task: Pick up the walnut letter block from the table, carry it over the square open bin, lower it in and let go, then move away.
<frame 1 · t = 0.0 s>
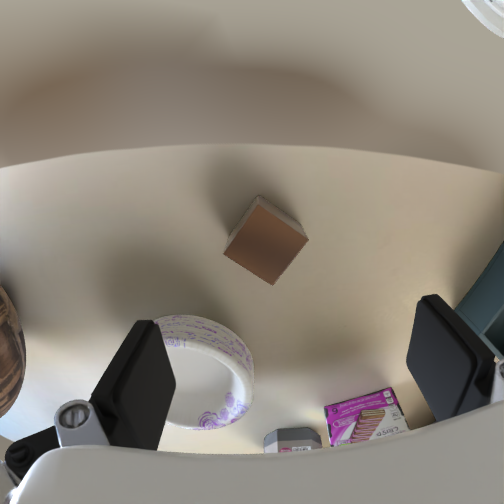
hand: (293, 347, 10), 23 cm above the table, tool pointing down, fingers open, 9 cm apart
sphere: (1, 305, 38), on the table
liquor: (291, 441, 44), on the table
candy bar box: (358, 404, 41), on the table
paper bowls: (196, 349, 38), on the table
walnut block: (264, 230, 32), on the table
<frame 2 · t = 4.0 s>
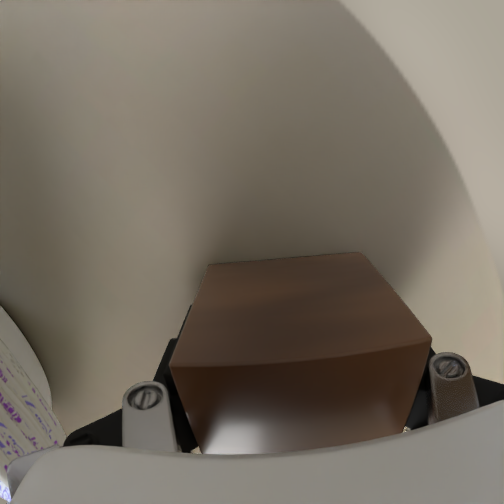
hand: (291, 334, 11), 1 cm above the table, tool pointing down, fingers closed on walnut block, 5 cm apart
walnut block: (289, 324, 12), on the table, touching gripper
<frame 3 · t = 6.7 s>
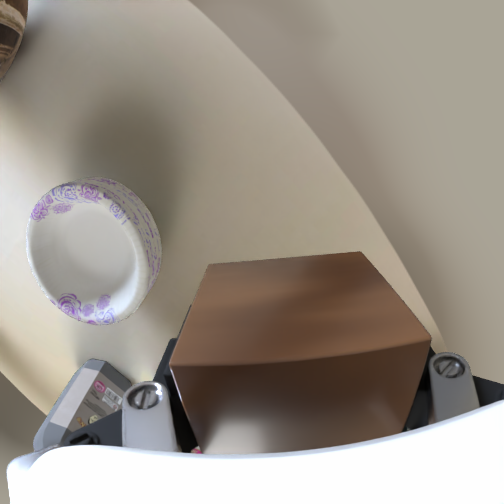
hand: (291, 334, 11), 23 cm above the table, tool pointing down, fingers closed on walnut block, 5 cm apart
sphere: (0, 51, 24), on the table
liquor: (105, 380, 42), on the table
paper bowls: (111, 236, 34), on the table
walnut block: (289, 323, 12), point 22 cm above the table, touching gripper
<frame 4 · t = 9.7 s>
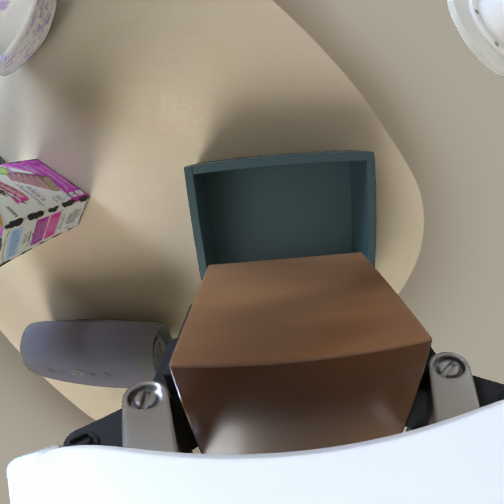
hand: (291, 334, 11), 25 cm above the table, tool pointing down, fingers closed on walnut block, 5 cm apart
candy bar box: (57, 189, 34), on the table
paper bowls: (30, 32, 26), on the table
bluetooth speaker: (106, 332, 41), on the table
walnut block: (289, 324, 12), point 24 cm above the table, touching gripper
square open bin: (283, 230, 35), on the table
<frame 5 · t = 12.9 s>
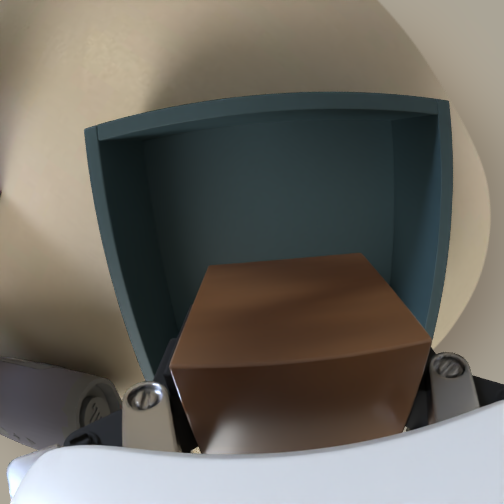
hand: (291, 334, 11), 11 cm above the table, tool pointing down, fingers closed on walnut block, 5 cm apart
bluetooth speaker: (44, 372, 27), on the table
walnut block: (289, 324, 12), point 10 cm above the table, touching gripper
square open bin: (278, 243, 21), on the table
when the fingers open (2 cm above the table, at t = 15.7 s): walnut block stays where it is, resting on square open bin.
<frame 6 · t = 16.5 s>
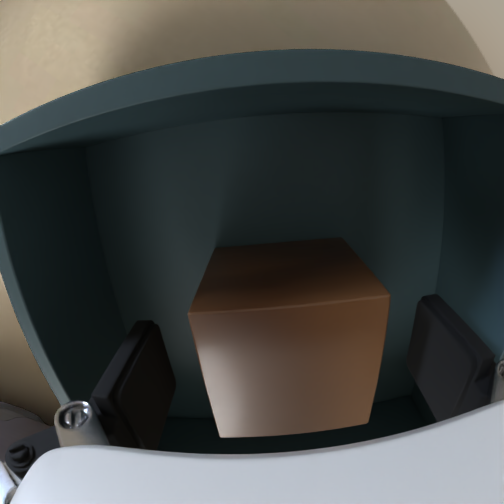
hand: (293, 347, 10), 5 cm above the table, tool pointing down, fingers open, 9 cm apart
bluetooth speaker: (14, 412, 20), on the table
walnut block: (282, 299, 14), point 1 cm above the table, touching square open bin
square open bin: (280, 292, 15), on the table
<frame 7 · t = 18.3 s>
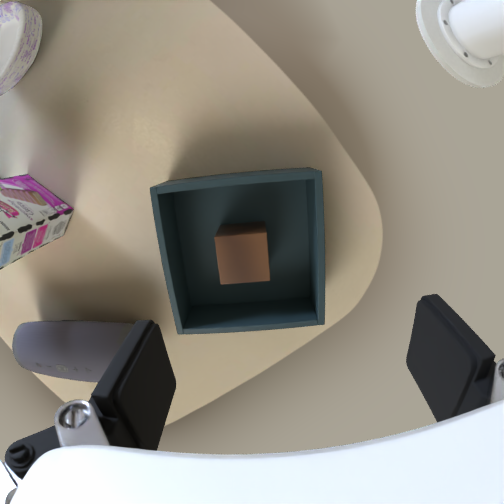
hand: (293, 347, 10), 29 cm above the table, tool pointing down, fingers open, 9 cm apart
candy bar box: (45, 202, 37), on the table
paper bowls: (20, 54, 29), on the table
bluetooth speaker: (90, 332, 44), on the table
walnut block: (244, 244, 38), point 1 cm above the table, touching square open bin
square open bin: (244, 242, 39), on the table
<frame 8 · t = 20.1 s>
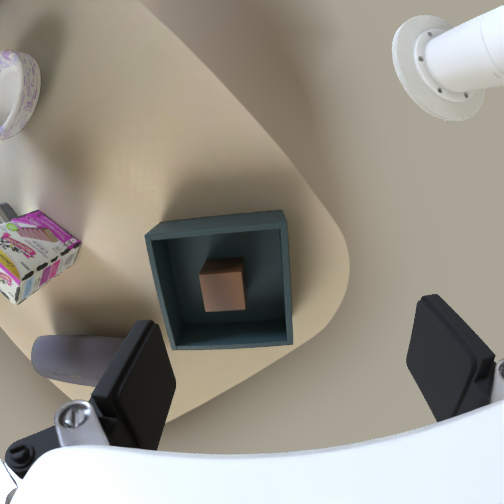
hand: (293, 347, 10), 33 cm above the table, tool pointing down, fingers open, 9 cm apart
liquor: (7, 227, 44), on the table
candy bar box: (56, 234, 44), on the table
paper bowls: (22, 96, 36), on the table
bluetooth speaker: (98, 344, 51), on the table
walnut block: (226, 275, 45), point 1 cm above the table, touching square open bin
square open bin: (227, 273, 46), on the table
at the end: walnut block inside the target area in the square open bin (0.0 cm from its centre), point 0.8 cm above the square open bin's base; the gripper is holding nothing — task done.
